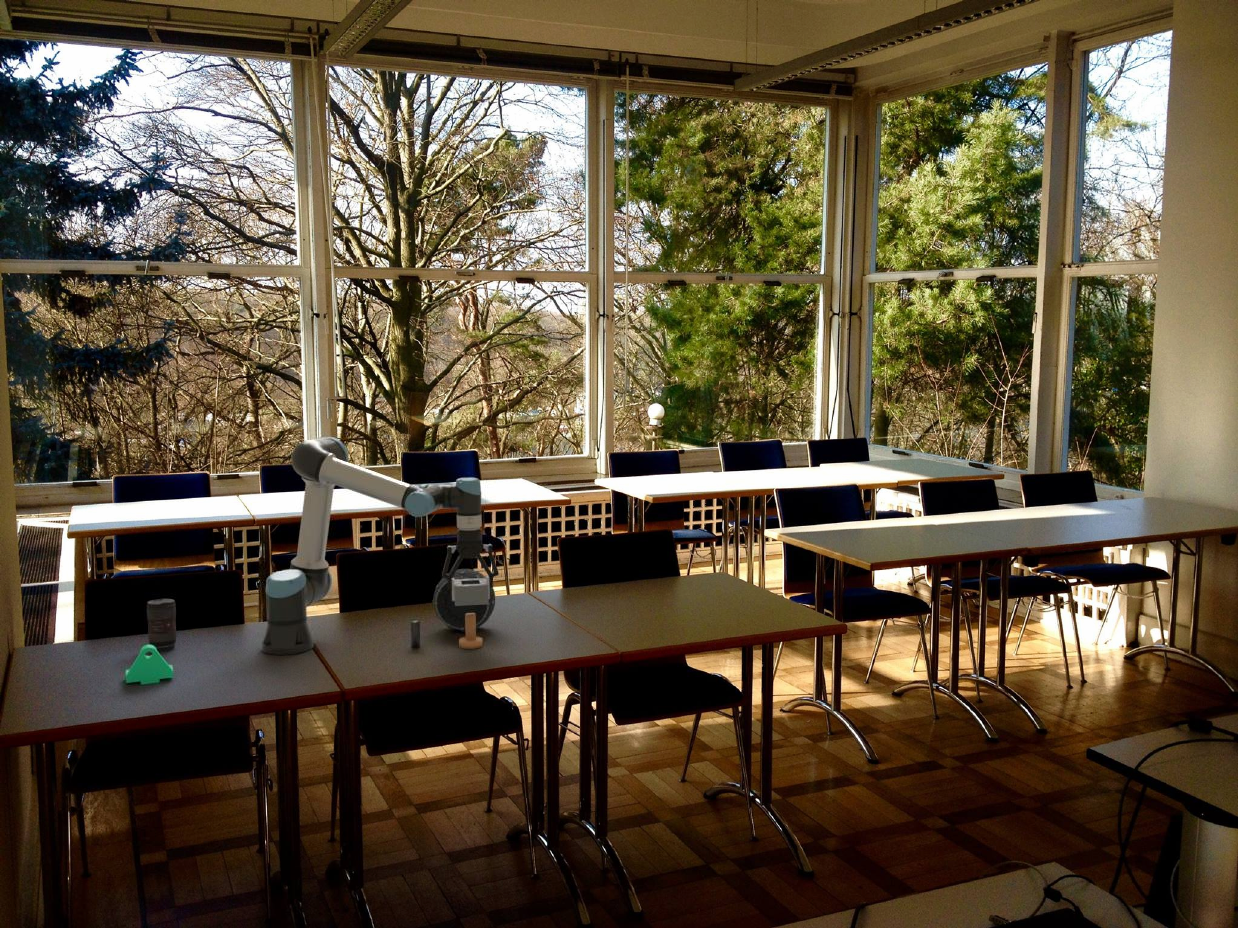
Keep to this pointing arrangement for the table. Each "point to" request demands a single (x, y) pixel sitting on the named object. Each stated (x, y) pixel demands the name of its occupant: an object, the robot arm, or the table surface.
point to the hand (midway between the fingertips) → (470, 598)
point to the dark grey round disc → (456, 614)
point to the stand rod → (415, 634)
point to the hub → (470, 633)
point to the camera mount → (149, 667)
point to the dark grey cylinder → (162, 624)
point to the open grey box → (471, 591)
